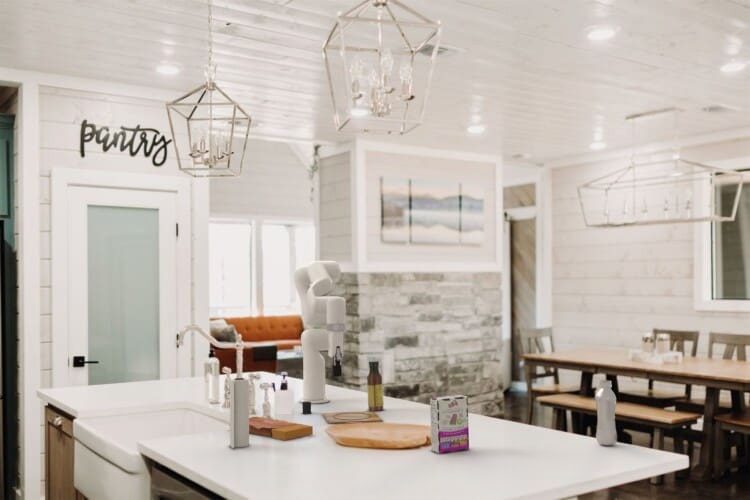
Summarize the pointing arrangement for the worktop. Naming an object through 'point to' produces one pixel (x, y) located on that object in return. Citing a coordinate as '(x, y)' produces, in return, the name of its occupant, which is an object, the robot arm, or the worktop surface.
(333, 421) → the board
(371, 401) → the sauce bottle
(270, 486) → the worktop surface
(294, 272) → the robot arm
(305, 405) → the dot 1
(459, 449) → the candy bar box
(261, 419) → the brown flat block
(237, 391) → the tall grey block
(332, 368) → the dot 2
